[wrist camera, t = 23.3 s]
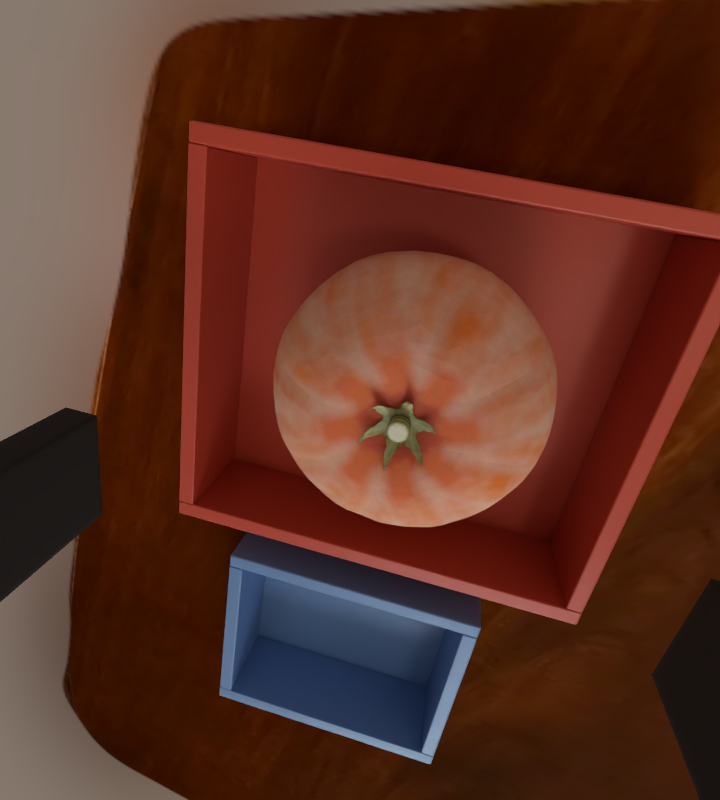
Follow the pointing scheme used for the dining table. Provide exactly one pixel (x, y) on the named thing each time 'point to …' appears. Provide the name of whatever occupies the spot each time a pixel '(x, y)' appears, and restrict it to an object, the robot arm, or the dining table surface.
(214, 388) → the red bin
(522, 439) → the tomato
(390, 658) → the blue bin
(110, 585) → the dining table surface
